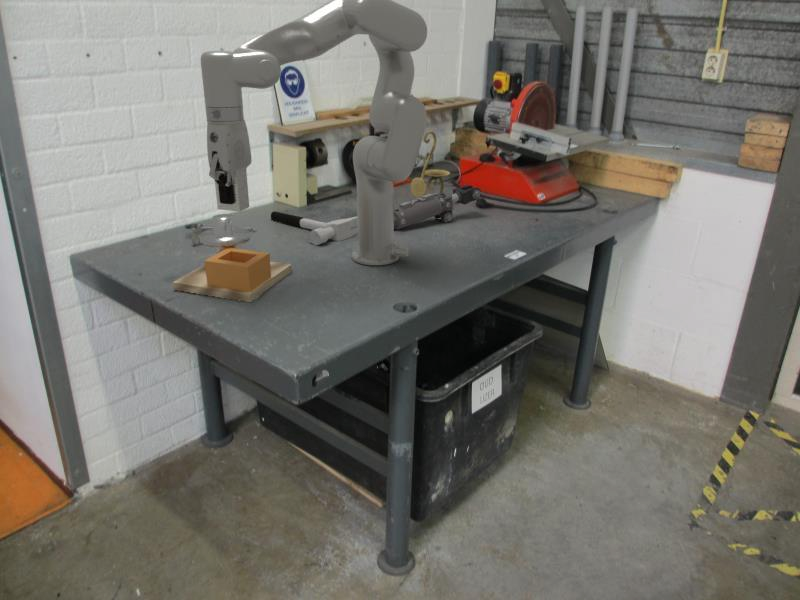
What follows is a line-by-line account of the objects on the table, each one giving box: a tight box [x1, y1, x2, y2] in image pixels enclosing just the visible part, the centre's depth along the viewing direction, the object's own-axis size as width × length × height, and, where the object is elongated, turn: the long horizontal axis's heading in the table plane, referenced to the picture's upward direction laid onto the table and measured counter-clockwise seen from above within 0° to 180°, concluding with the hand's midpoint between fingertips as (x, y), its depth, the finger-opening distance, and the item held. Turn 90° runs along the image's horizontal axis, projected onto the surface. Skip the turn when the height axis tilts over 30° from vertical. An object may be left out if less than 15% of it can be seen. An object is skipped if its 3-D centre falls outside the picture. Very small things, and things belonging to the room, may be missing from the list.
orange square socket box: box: [172, 213, 293, 303], centre depth 150 cm, size 21×21×14 cm
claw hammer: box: [270, 210, 357, 246], centre depth 191 cm, size 5×22×30 cm
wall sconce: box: [410, 130, 451, 198], centre depth 213 cm, size 14×10×25 cm
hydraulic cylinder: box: [394, 184, 482, 230], centre depth 196 cm, size 7×37×10 cm, turn 124°
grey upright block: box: [214, 167, 250, 213], centre depth 137 cm, size 6×4×10 cm
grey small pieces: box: [190, 223, 258, 247], centre depth 180 cm, size 20×1×6 cm, turn 136°
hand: (232, 200), depth 138 cm, fingers closed on grey upright block, 4 cm apart
